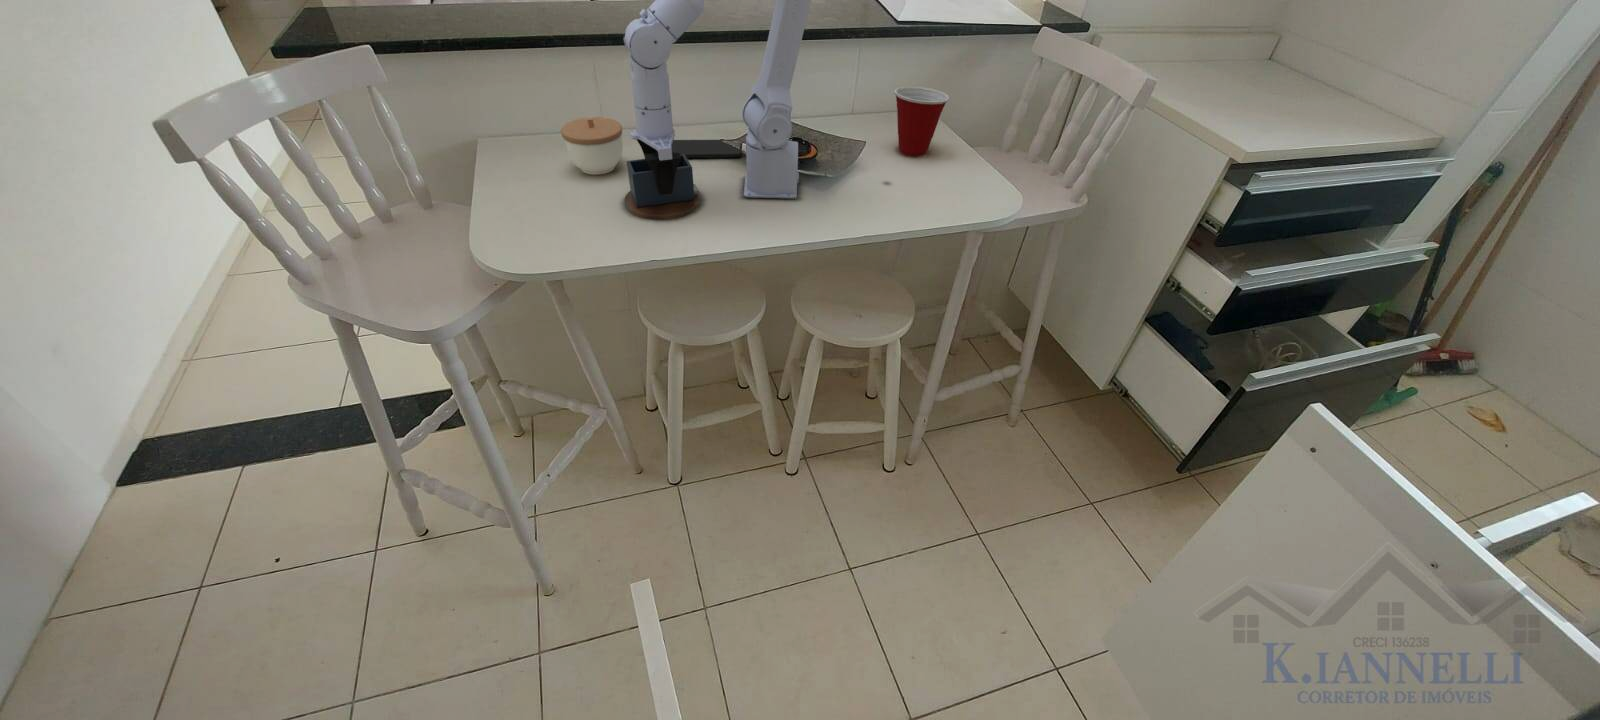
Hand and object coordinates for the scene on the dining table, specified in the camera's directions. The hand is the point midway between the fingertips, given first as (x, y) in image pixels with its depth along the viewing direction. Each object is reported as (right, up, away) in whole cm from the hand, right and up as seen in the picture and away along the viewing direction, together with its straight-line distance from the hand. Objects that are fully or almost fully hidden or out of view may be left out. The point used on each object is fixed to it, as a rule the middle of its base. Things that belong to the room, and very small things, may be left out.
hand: (661, 183), depth 114 cm
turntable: (0, -3, +2) cm, 3 cm away
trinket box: (-14, +6, +12) cm, 19 cm away
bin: (+1, -2, +2) cm, 2 cm away
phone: (+4, +12, +19) cm, 23 cm away
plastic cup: (+47, +13, +23) cm, 54 cm away
